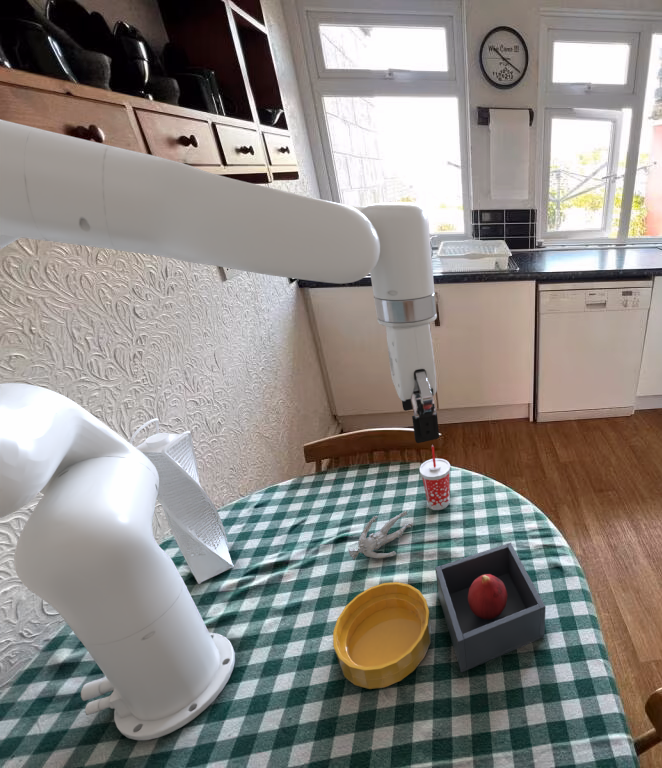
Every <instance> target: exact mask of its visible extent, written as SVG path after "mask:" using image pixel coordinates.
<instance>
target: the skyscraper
mask: <svg viewBox="0 0 662 768" xmlns="http://www.w3.org/2000/svg"><path fill="white" fill-rule="evenodd" d="M159 420H160V419H159V418H157V417H156V418H152V419H149V420H147V421H146V422H145V423H143V424H142V425H140V427H138V428H137V429H136V430H135V431H134V432H133V434H132V435H131V437H130V439H129V441H128V442H129V443H130V444H131V445H133V442H134V440H135V438H136V436H137V435H138V434H139V433H140V432H141V431H142V430H143V429H144V428H146V427H147V426H149V425H150V424H153V423H155V434H152V435H150V436H148V437H146V438H145V440H144V441H143V442H141V443H140V444H139V445H137V446H134V447H135V448H137V449H138V450H139V451H140V452H142V453H143V454H144V455H145V456H146V457H147V458H148V459H149V460H150V461H151V462H152V463H153V465H154V466H155V468H156V470H157V472H158V476H159V489H158V495H157V499H156V501H158V503H159V504H160V505H161V507H162V509H163V512H164V515H165V518H166V521H167V523H168V527H169V529H170V531H171V533H172V536H173V538H174V540H175V542H176V544H177V547H178V549H179V550H180V552H181V555H182V556H183V558H184V560H185V563H186V564H187V566H188V568H189V569H190V571H191V573H192V575H193V577H194V579H195V580H196V583H197V584H198V585H200V584H202V583H203V582H205V581H208V580H210V579H211V578H213V577H216V576H218V575H220V574H222V573H224V572H226V571H228V570H231V569H234V568H235V565H234V564H233V561H232V558H231V555H230V552H229V550H230V546H229V541H228V538H227V534H226V533H227V532H226V530H225V527H224V524H223V521H222V519H221V516H220V514H219V512H218V509H217V508H216V506H215V504H214V503H213V501H212V499H211V498H210V497H209V495H208V494H207V493H206V491H205V490H204V488H203V487H202V486H201V482H200V477H199V469H198V468H199V467H198V462H197V456H196V451H195V446H194V442H193V437H192V433H191V431H190V430H185V431H184V432H183V431H182V433H169V432H160V421H159Z"/></svg>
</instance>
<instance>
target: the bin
mask: <svg viewBox="0 0 662 768" xmlns="http://www.w3.org/2000/svg"><path fill="white" fill-rule="evenodd" d="M434 569H435V577H436V585H437V593H438V599H439V602H440V606H441V609H442V612H443V616H444V619H445V623H446V626H447V631H448V634H449V636H450V640H451V643H452V647H453V650H454V654H455V657H456V660H457V661H456V662H457V664H458V668H459V671H460V673H464V672H466V671H469V670H471V669H473V668H475V667H478V666H480V665H483V664H485V663H488V662H489V661H492V660H495V659H496V658H499V657H501V656H503V655H506V654H508V653H510V652H513V651H515V650H517V649H520V648H522V647H524V646H526V645H529V644H532V643H534V642H536V641H538V640H541V639H542V638H545V629H546V627H545V626H546V625H545V624H546V605H545V603H544V601H543V599H542V597H541V596H540V594H539V592H538V590H537V588H536V586H535V584H534V583H533V581H532V579H531V577H530V575H529V574H528V572H527V570H526V568H525V567H524V565H523V563H522V561H521V558H520V557H519V555H518V553H517V551H516V550H515V548H514V546H513V544H512V542H508V543H505V544H502V545H498V546H496V547H493V548H489V549H487V550H482V551H480V552H477V553H474V554H471V555H468V556H465V557H462V558H459V559H456V560H453V561H450V562H448V563H444V564H442V565H438V566H436V567H435V568H434ZM485 574H491V575H493V576H495V577H497V578H498V579H500V580H501V581H502V582H503V583H504V585H505V588H506V591H507V595H508V596H507V602H506V607H505V608H504V610H503V611H502V613H501V614H500V615H498V616H497V617H495V618H493V619H489V620H487V619H482V618H480V617H478V616H477V615H475V614H474V613H473V612H472V610H471V609H470V606H469V602H468V593H469V588H470V586H471V585H472V583H473V581H474V580H475V579H477V578H478V577H480V576H482V575H485Z"/></svg>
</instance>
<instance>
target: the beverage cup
mask: <svg viewBox="0 0 662 768" xmlns="http://www.w3.org/2000/svg"><path fill="white" fill-rule="evenodd" d="M431 455H432V458H431V459H428V460H425V461H424V462H423V463H421V464H420V466H419V475H420V476H421V480H422V483H423V488H424V489H423V490H424V493H425V498H426V499H425V500H426V505H427V506H428V508H429V509H430V510H432V511H441V510H444V509H446V508H447V507H448V506H449V505H450V503H451V495H450V494H451V490H450V489H451V487H450V472H451V464H450V462H449V461H448V460H446V459H444V458H438V457H436V454H435V446H434V445H431Z"/></svg>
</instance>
